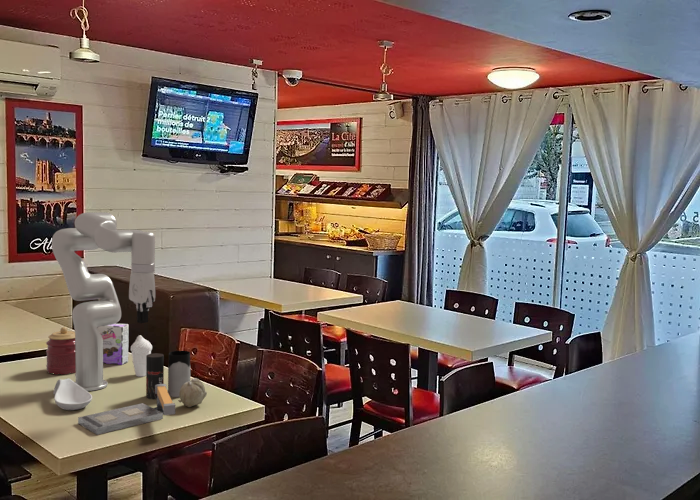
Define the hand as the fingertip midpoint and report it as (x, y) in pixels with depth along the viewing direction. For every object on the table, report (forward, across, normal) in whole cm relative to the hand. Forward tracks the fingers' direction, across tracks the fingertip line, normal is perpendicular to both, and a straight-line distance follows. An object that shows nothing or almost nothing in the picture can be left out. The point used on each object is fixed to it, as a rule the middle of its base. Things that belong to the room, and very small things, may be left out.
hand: (142, 322), depth 230 cm
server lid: (+29, +10, -13) cm, 33 cm away
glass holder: (+29, -6, +18) cm, 35 cm away
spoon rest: (+30, -18, -18) cm, 39 cm away
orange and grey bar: (+22, +20, -3) cm, 30 cm away
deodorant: (+29, -6, +8) cm, 31 cm away
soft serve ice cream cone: (+29, -34, +18) cm, 48 cm away
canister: (+30, -59, -2) cm, 66 cm away
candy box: (+30, -60, +18) cm, 69 cm away
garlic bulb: (+29, +12, +12) cm, 34 cm away
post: (+29, +10, +1) cm, 30 cm away
